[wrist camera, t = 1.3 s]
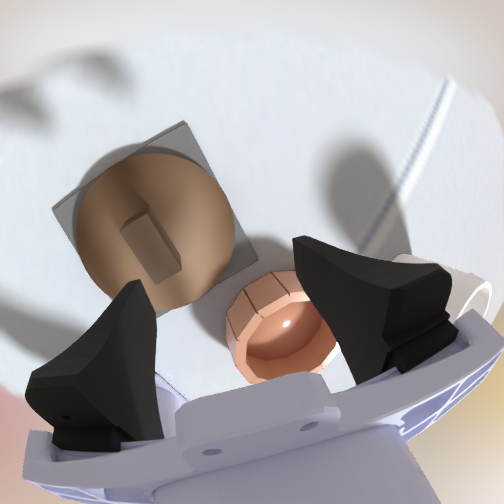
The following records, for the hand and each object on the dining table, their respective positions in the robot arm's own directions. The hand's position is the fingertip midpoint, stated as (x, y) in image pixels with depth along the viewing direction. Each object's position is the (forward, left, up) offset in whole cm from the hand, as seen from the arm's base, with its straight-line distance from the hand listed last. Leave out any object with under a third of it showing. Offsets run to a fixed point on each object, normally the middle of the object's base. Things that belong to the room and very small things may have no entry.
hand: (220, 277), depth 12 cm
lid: (-4, +1, -12) cm, 13 cm away
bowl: (+2, -14, -12) cm, 19 cm away
